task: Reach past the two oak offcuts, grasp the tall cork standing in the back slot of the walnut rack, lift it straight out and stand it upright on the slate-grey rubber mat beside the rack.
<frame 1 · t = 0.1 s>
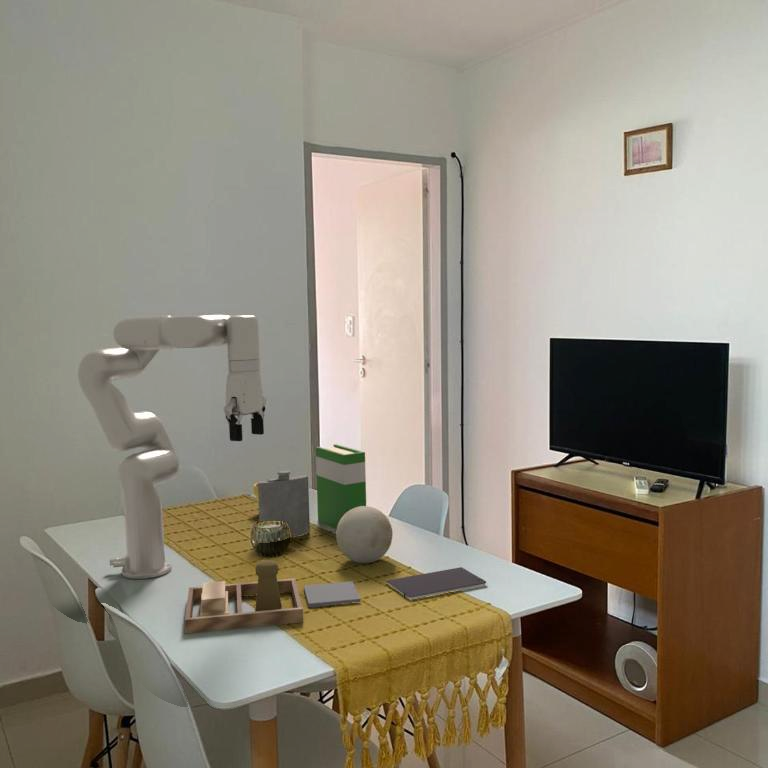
hand: (247, 437, 195), 37 cm above the table, tool pointing down, fingers open, 9 cm apart
top offcut: (214, 602, 182), point 2 cm above the table, touching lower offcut
rubber mat: (331, 596, 192), on the table
hip flask: (285, 537, 241), on the table
decorative sphere: (365, 562, 216), on the table
walnut rack: (244, 610, 184), on the table
hardback book: (341, 525, 252), on the table
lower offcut: (214, 615, 183), on the table, touching top offcut
cork: (268, 609, 185), on the table
plant pot: (270, 513, 269), on the table
notebook: (436, 588, 198), on the table
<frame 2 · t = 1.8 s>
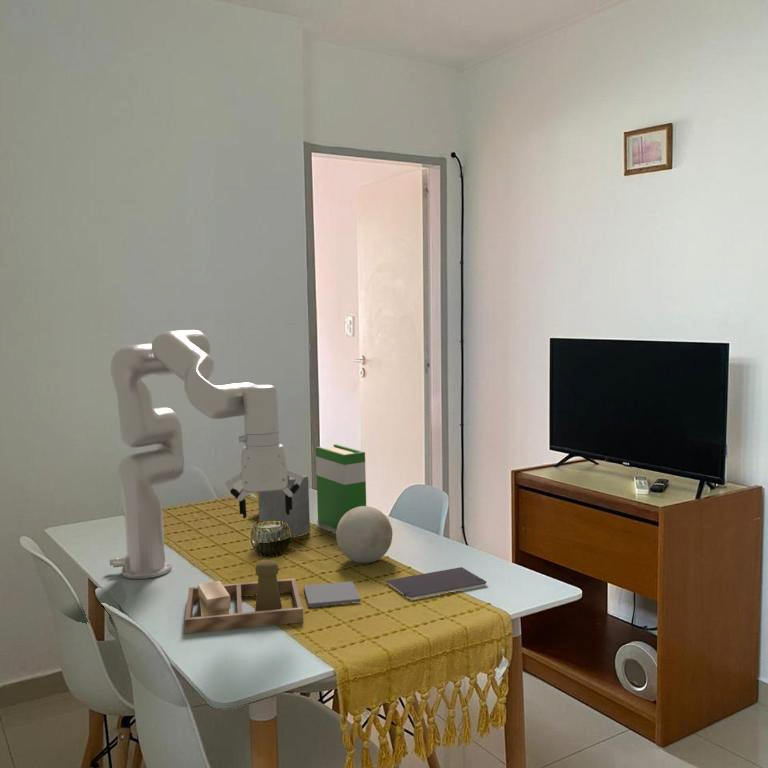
hand: (266, 515, 182), 22 cm above the table, tool pointing down, fingers open, 9 cm apart
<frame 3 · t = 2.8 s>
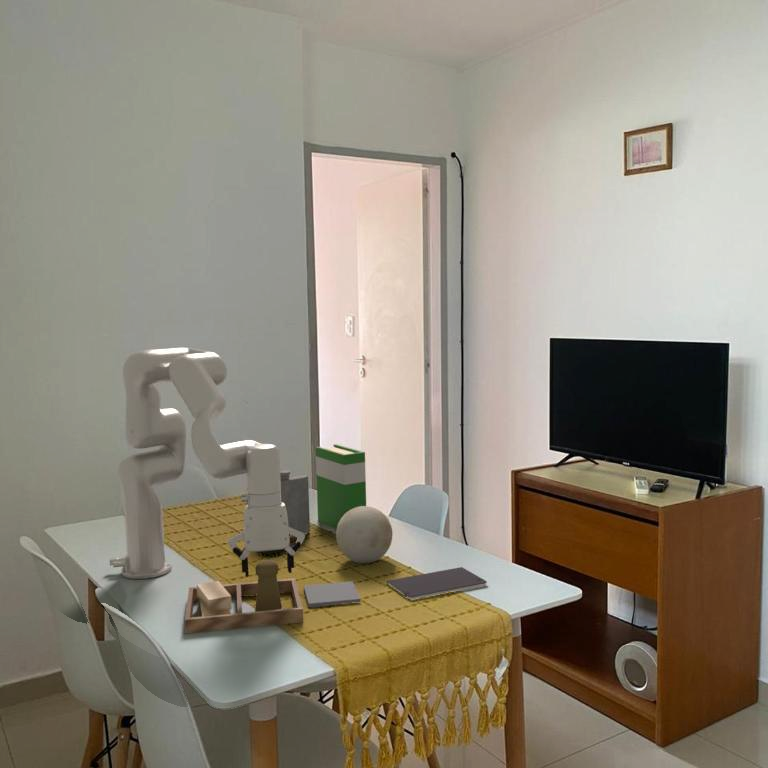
hand: (268, 573, 184), 8 cm above the table, tool pointing down, fingers open, 9 cm apart
nothing on the table moved.
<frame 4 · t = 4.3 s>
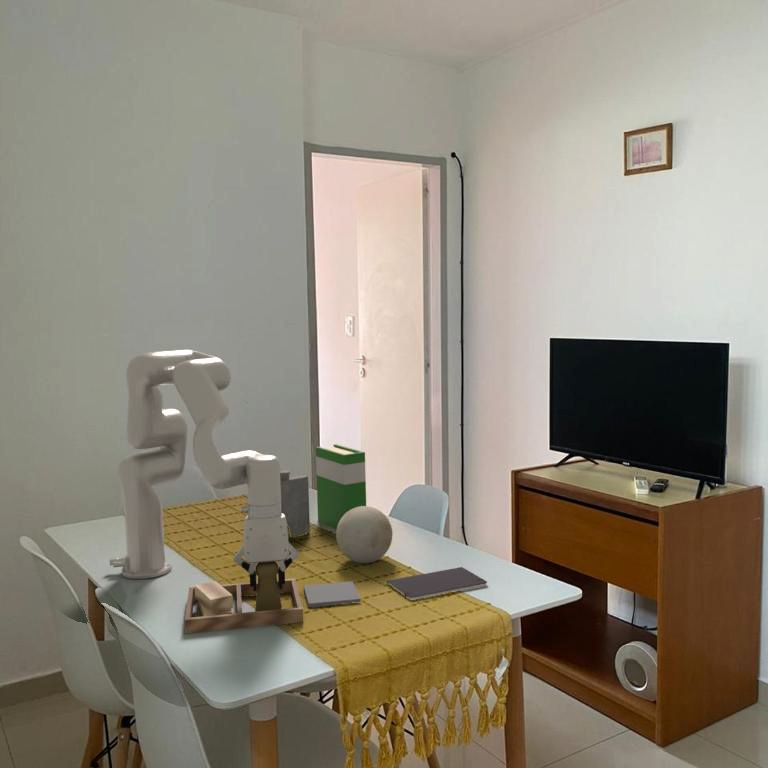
hand: (267, 587, 184), 5 cm above the table, tool pointing down, fingers closed on cork, 5 cm apart
cork: (268, 609, 185), on the table, touching gripper
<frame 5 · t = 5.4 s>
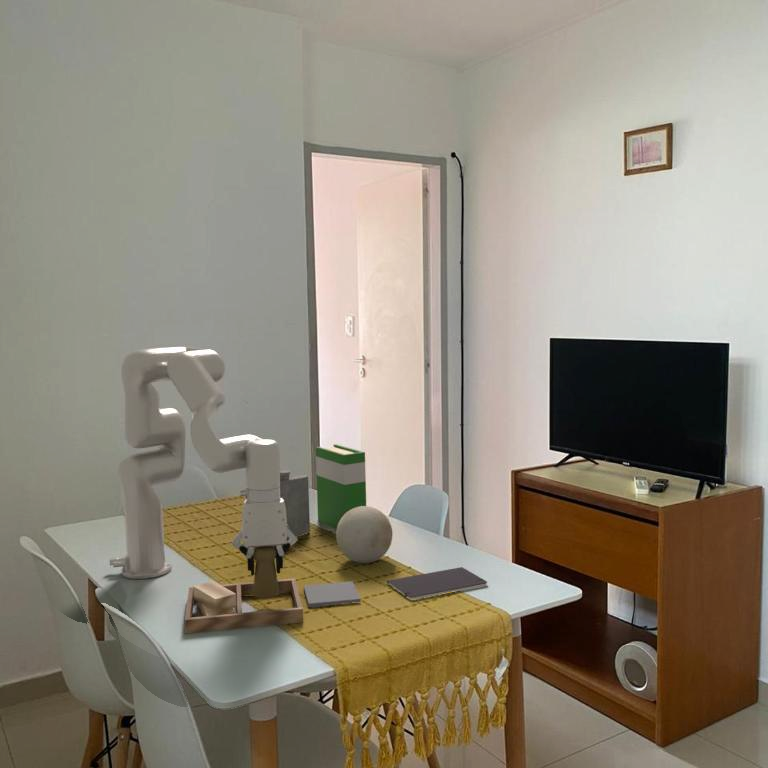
hand: (265, 571, 184), 9 cm above the table, tool pointing down, fingers closed on cork, 5 cm apart
cork: (265, 593, 185), point 3 cm above the table, touching gripper
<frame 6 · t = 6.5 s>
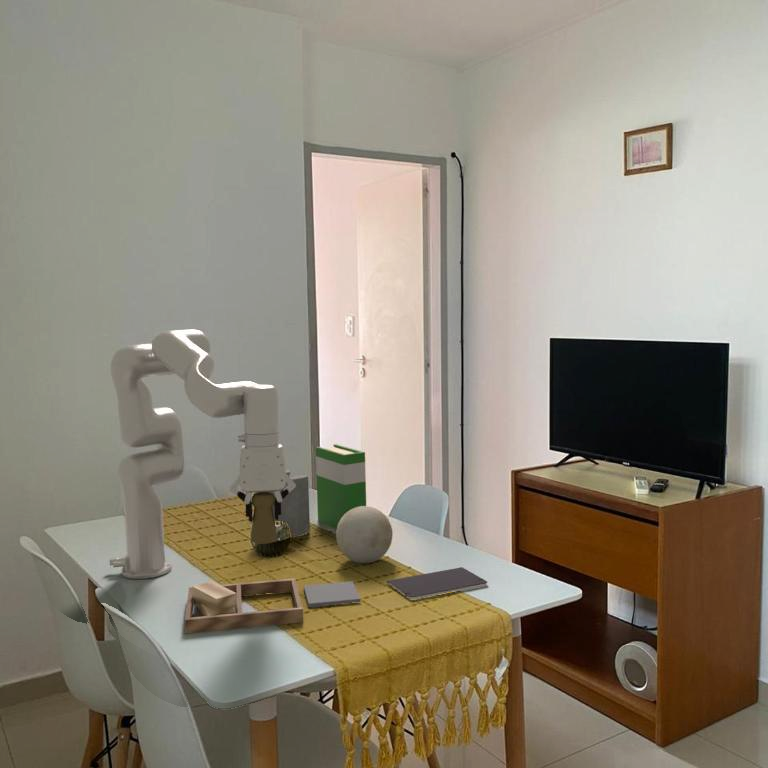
hand: (263, 518, 183), 21 cm above the table, tool pointing down, fingers closed on cork, 5 cm apart
cork: (264, 540, 184), point 16 cm above the table, touching gripper
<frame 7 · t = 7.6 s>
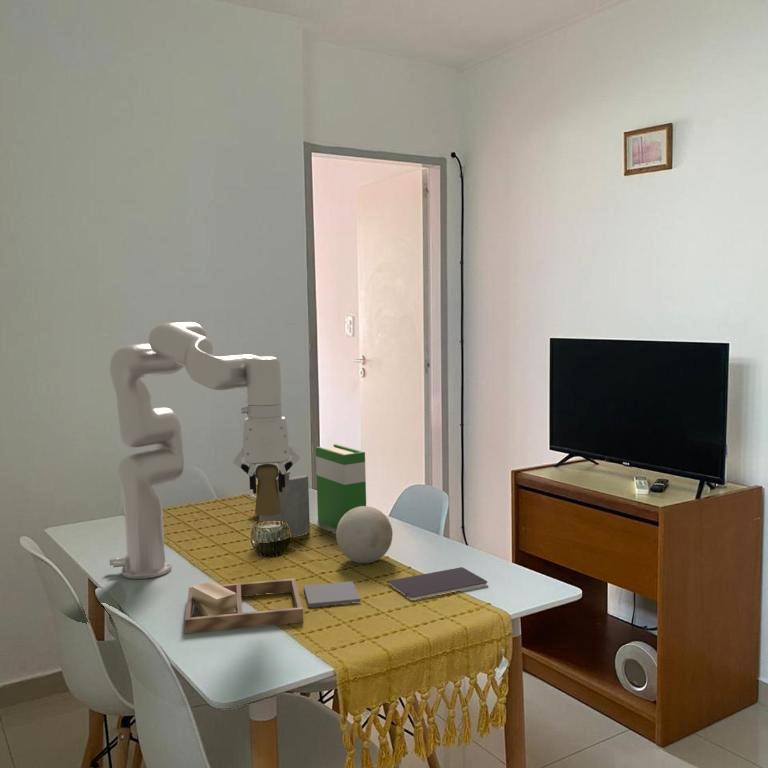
hand: (267, 490, 183), 27 cm above the table, tool pointing down, fingers closed on cork, 5 cm apart
cork: (268, 513, 183), point 22 cm above the table, touching gripper
when the fingers open (7 cm above the table, at t = 13.3 s): cork stays where it is, resting on rubber mat.
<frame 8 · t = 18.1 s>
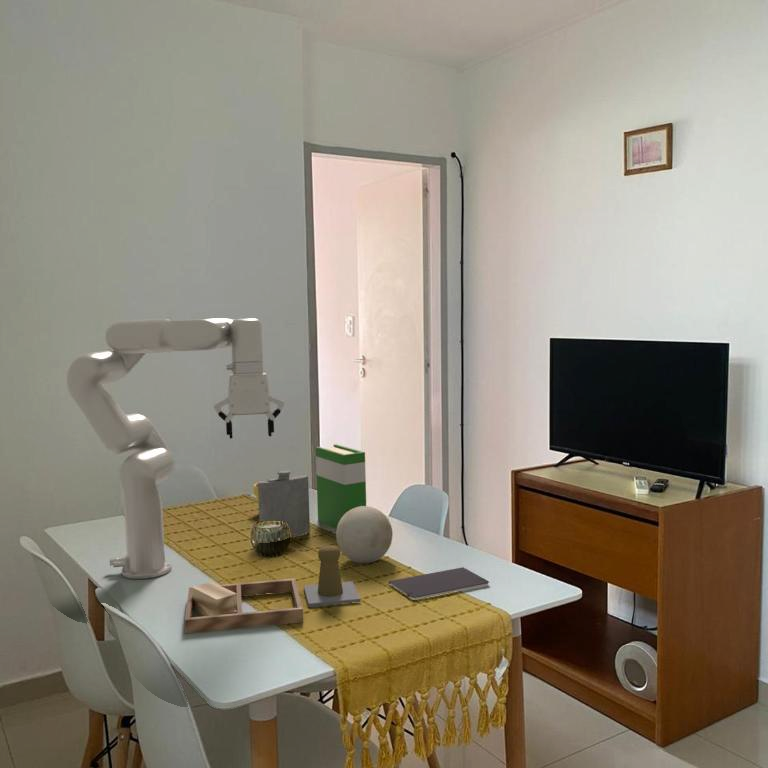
hand: (250, 436, 202), 36 cm above the table, tool pointing down, fingers open, 9 cm apart
cork: (330, 592, 192), point 1 cm above the table, touching rubber mat
at the end: cork inside the target area on the rubber mat (0.2 cm from its centre), point 0.8 cm above the rubber mat's base; cork tilted 0°; top offcut moved 0.5 cm from its start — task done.
